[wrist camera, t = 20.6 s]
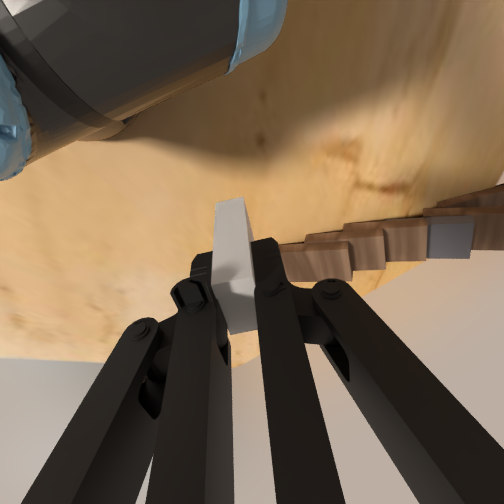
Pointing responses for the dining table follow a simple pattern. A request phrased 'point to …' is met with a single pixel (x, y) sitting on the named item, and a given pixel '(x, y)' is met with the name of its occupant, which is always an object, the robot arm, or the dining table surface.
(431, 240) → the domino
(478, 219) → the domino
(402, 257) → the domino
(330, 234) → the domino
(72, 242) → the dining table surface
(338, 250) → the domino
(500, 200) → the domino
